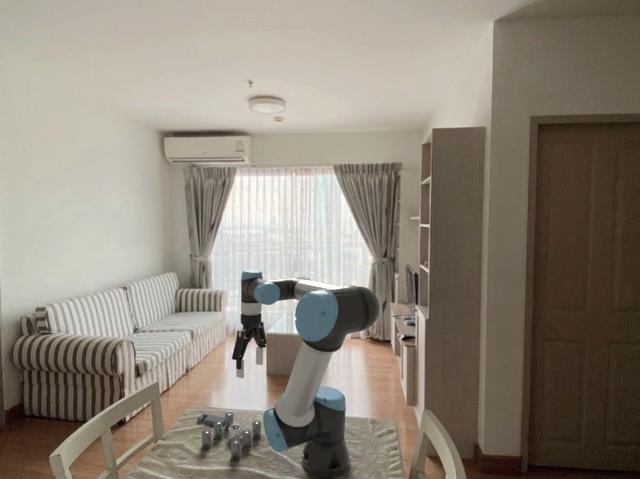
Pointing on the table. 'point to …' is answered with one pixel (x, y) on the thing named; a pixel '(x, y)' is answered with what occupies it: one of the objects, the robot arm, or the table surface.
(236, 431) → the silver metal cylinder
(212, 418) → the bracket
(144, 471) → the table surface
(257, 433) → the spacer field
